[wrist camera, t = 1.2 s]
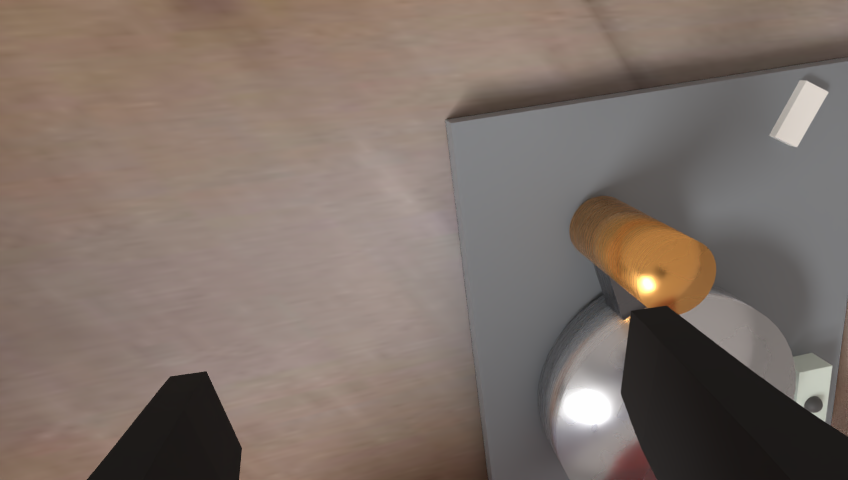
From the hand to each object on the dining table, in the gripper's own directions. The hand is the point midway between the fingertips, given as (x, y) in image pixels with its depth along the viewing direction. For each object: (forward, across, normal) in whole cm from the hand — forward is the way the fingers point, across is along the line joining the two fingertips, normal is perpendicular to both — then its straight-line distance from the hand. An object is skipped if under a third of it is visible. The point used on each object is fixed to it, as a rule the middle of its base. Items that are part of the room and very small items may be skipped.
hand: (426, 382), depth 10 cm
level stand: (+10, -9, +8) cm, 15 cm away
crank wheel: (+8, -8, +8) cm, 14 cm away
